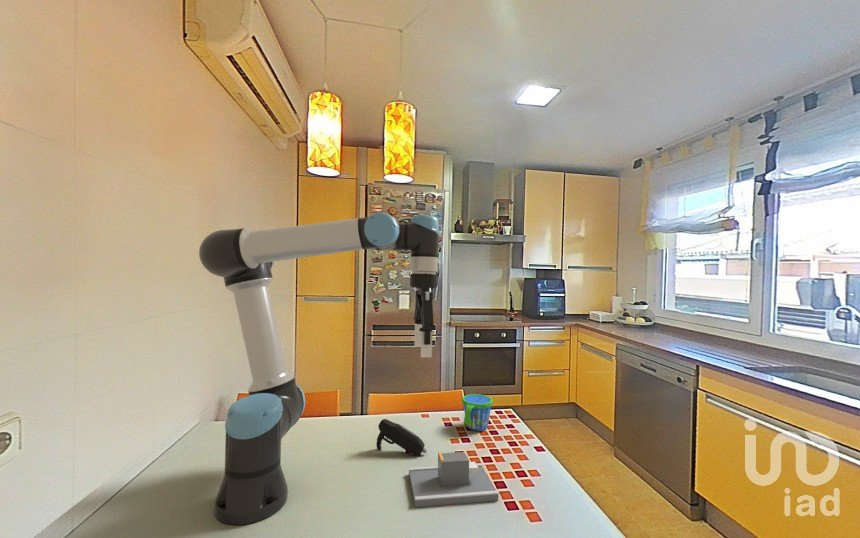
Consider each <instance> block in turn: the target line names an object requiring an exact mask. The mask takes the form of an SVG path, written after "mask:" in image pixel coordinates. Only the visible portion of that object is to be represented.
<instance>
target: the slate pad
mask: <svg viewBox="0 0 860 538" xmlns="http://www.w3.org/2000/svg"><path fill="white" fill-rule="evenodd" d="M476 465H477V466H478V473H474V474H469V485H460V486H446V487H441V485H440V482H439V479H438V465H437V466H436V465H433V466H417V467H408V477H409V483H410V487H411V493H412V498H413V503H414V507H415V508H420V507H432V506H433V507H434V506H445V505H446V506H447V505H457V504H458V505H459V504H470V503H471V504H473V503H484V502H498V501H499V491H498V490H497V489H496V487H495V485H494V484H493V482H492V481H491V479H490V478H489V476H488V474H487V472H486V471H485V468H484V467H483V464H482V463H476Z"/></svg>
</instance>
